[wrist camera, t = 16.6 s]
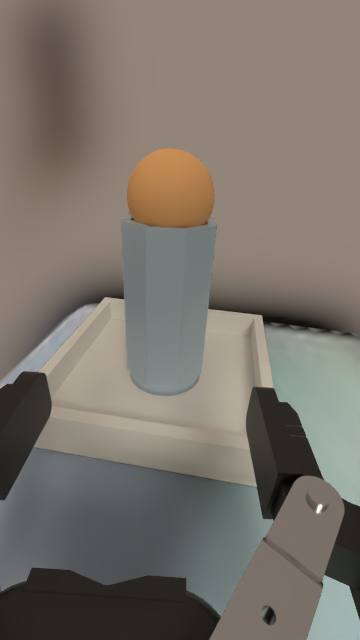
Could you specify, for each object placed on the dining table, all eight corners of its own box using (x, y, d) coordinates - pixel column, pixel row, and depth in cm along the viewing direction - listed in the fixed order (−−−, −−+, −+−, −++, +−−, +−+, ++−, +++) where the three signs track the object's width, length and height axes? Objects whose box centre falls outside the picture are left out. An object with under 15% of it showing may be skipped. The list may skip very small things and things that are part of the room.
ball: (185, 229, 23) (190, 149, 20) (226, 248, 19) (238, 151, 16) (117, 234, 20) (113, 145, 18) (147, 257, 16) (147, 146, 14)
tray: (107, 322, 33) (105, 297, 32) (256, 341, 31) (261, 315, 30) (15, 443, 19) (4, 409, 18) (273, 490, 17) (284, 455, 16)
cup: (199, 353, 27) (213, 213, 21) (200, 398, 22) (219, 232, 16) (136, 349, 27) (132, 208, 21) (123, 393, 22) (114, 225, 16)
